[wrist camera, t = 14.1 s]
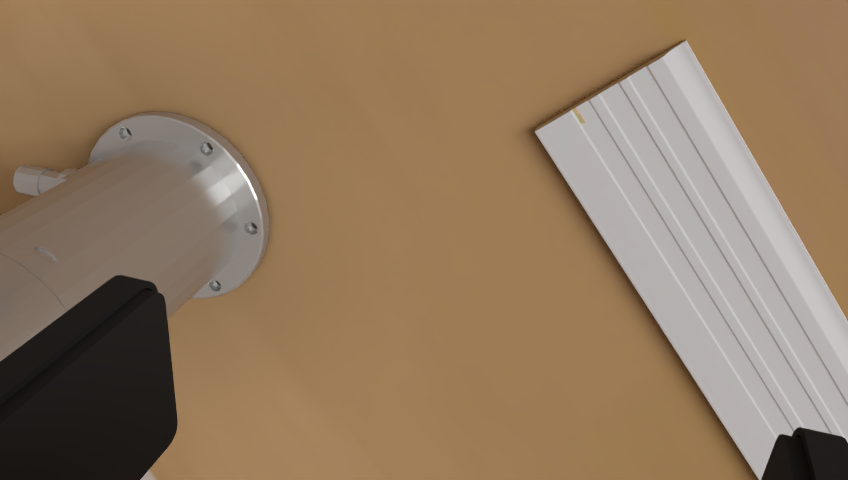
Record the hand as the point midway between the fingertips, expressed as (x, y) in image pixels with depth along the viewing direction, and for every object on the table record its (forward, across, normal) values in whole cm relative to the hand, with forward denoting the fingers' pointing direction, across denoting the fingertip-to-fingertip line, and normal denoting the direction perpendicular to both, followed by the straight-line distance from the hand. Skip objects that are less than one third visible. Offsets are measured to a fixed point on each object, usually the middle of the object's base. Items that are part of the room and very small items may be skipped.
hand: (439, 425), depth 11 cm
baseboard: (+31, -11, +14) cm, 36 cm away
